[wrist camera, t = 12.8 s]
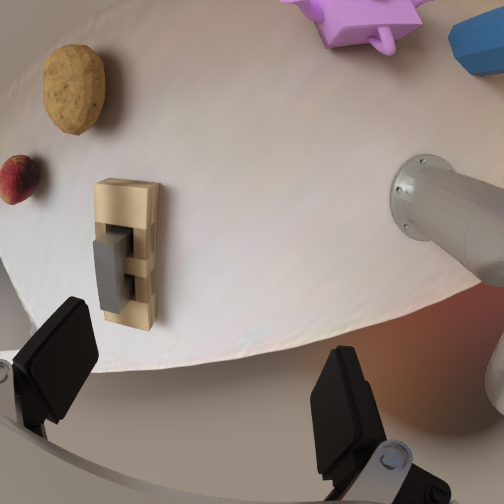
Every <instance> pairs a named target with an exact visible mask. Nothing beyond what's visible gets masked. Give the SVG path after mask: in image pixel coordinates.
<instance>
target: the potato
mask: <svg viewBox="0 0 504 504" xmlns="http://www.w3.org/2000/svg"><path fill="white" fill-rule="evenodd" d="M104 99H105V72H104V65H103V62H102V60H101V59H100V57H99V55H97V54H96V53H95V52H94V51H93V50H91V49H90V48H89V47H88V46H86V45H76V44H70V45H66V46H64V47H61V48H59V49H57V50H55V51H54V52H53V53H52V54H51V55H50V56H49V57H48V58H47V60H46V62H45V65H44V69H43V103H44V107H45V110H46V112H47V113H48V115H49V116H50V118H51V119H52V121H53V122H54V124H55V125H56V126H57V127H58V128H59V129H61V130H62V131H63V132H64V133H69V134H73V135H78V136H79V135H80V134H82V133H83V132H85V131H86V130H88V129H89V128H90V127H91V126H92V125H94V124H95V123H96V121H97V119H98V117H99V115H100V113H101V111H102V108H103V104H104Z"/></svg>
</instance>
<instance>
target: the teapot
mask: <svg viewBox="0 0 504 504" xmlns="http://www.w3.org/2000/svg"><path fill="white" fill-rule="evenodd" d="M280 1H281V2H284V3H293V4H297V5H298V6H299V8H300V10H301V11H302V13H303V14H304V15H305V16H306V17H307V18H308V19H310V20H312V21H314V23H315V25H316V27H317V29H318V31H319V34H320V36H321V38H322V41H323V43H324V45H325V48H326V49H328V48H335V47H342V46H350V45H358V44H368V43H370V44H371V45H372V46H373V47H374V48H376V49H377V50H378V51H379V52H381V53H382V54H384V55H387V56H391V55H393V54H394V53H395V51H396V46H395V42H396V41H398V40H399V39H401V38H402V37H404V36H406V35H407V34H409V33H411V32H412V31H414V30H416V29H417V28H419V27H421V26H422V25H423V23H422V21H421V19H420V17H419V15H418V13H417V11H416V8H417V7H418V6H419V5H421V4H423V3H425V2H427V1H432V0H280Z"/></svg>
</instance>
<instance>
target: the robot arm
mask: <svg viewBox="0 0 504 504" xmlns="http://www.w3.org/2000/svg"><path fill="white" fill-rule="evenodd" d="M420 160H421V162H420ZM397 187H398V189H397V190H396V188H397ZM390 207H391V212H392V216H393V218H394V221H395V222H396V224H397V226H398V227H399V228H400V229H401V230H402V231H403V232H404V233H405V234H406V235H407V236H409V237H411V238H413V239H415V240H419V241H428V240H432V241H433V242H435V243H436V244H437V245H438V246H440V247H441V248H442V249H444V250H445V251H446V252H447V253H449V254H450V255H451V256H452V257H454V258H455V259H456V260H457V261H458V262H460V263H461V264H462V265H463V266H464V267H466V268H467V269H468V270H469V271H470V272H471V273H473V274H474V275H475V276H476V277H477V278H478V279H480V280H481V281H483V282H484V283H486V284H488V285H491V286H496V287H503V286H504V189H503V188H500V187H497V186H495V185H492V184H489V183H486V182H483V181H480V180H478V179H475V178H471V177H468V176H465V175H462V174H459V173H455V171H454V169H453V168H452V167H451V165H450V164H449V163H448V162H446V161H445V160H444V159H442V158H440V157H438V156H434V155H429V154H423V155H418V156H415V157H413V158H411V159H410V160H408V161H407V162H406V163H405V164H404V165H403V166H402V167H401V168H400V169H399V171H398V172H397V174H396V176H395V178H394V180H393V184H392V187H391V193H390ZM98 357H99V353H98V349H97V345H96V341H95V336H94V332H93V328H92V323H91V318H90V313H89V308H88V305H87V304H86V303H85V301H84V300H83V299H80V298H76V297H73V296H71V297H69V298H68V299H67V300H66V301H65V302H64V303H63V304H62V305H61V306H60V307H59V308H58V309H57V310H56V311H55V312H54V313H53V314H52V315H51V317H50V318H49V319H48V320H47V321H46V322H45V323H44V324H43V325H42V326H41V327H40V328H39V330H38V331H37V332H36V333H35V334H34V335H33V336H32V337H31V338H30V340H29V341H28V342H27V343H26V344H25V345H24V347H23V348H22V349H21V350H20V351H19V352H18V354H17V355H16V356H15V357H14V358H13V362H14V363H13V364H12V365H11V364H10V363H9V362H8V361H7V360H3V359H0V504H459V503H458V502H457V501H456V500H453V501H452V500H451V490H450V487H449V485H448V484H447V483H446V482H444V481H443V480H441V479H439V478H438V477H436V476H434V475H432V474H430V473H429V472H427V471H425V470H423V469H422V468H420V467H418V466H416V465H415V464H413V463H412V461H413V457H412V452H411V450H410V449H409V447H408V446H407V445H406V444H405V443H403V442H401V441H399V440H392V439H391V440H387V439H386V435H385V432H384V428H383V425H382V421H381V419H380V415H379V412H378V409H377V405H376V402H375V399H374V396H373V393H372V390H371V387H370V384H369V382H368V381H365V379H364V376H363V373H362V370H361V367H360V364H359V361H358V358H357V355H356V352H355V349H354V347H352V346H337V348H336V349H332V350H331V352H330V355H329V357H328V359H327V361H326V363H325V366H324V368H323V370H322V372H321V375H320V376H319V379H318V381H317V383H316V385H315V387H314V389H313V391H312V393H311V397H310V404H311V413H312V421H313V430H314V439H315V449H316V459H317V469H318V473H319V474H322V477H323V480H333V487H334V489H333V490H332V491H331V492H330V493H329V495H328V496H327V497H326V498H325V499H324V501H317V502H269V501H251V500H240V499H239V500H238V499H230V498H222V497H215V496H209V495H203V494H197V493H191V492H186V491H182V490H177V489H173V488H168V487H164V486H161V485H157V484H153V483H150V482H146V481H143V480H139V479H136V478H133V477H130V476H127V475H124V474H121V473H119V472H116V471H113V470H111V469H108V468H105V467H103V466H100V465H98V464H95V463H93V462H91V461H88V460H86V459H84V458H82V457H79V456H77V455H75V454H73V453H71V452H69V451H67V450H65V449H63V448H61V447H59V446H57V445H55V444H53V443H51V442H49V441H48V439H47V435H46V431H45V426H44V421H45V419H47V420H49V421H51V422H53V423H55V424H58V422H59V420H61V419H63V418H64V417H65V415H66V413H67V412H68V410H69V408H70V406H71V405H72V403H73V401H74V399H75V398H76V396H77V394H78V392H79V391H80V389H81V387H82V386H83V384H84V382H85V380H86V379H87V377H88V376H89V374H90V372H91V371H92V369H93V367H94V366H95V364H96V363H97V361H98ZM485 386H486V391H487V394H488V397H489V399H490V401H491V402H492V404H493V405H494V407H495V408H496V409H497V410H498V411H499V412H501V413H502V414H503V415H504V332H503V334H502V336H501V338H500V340H499V342H498V345H497V347H496V349H495V351H494V353H493V355H492V357H491V359H490V362H489V364H488V368H487V371H486V377H485Z"/></svg>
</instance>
